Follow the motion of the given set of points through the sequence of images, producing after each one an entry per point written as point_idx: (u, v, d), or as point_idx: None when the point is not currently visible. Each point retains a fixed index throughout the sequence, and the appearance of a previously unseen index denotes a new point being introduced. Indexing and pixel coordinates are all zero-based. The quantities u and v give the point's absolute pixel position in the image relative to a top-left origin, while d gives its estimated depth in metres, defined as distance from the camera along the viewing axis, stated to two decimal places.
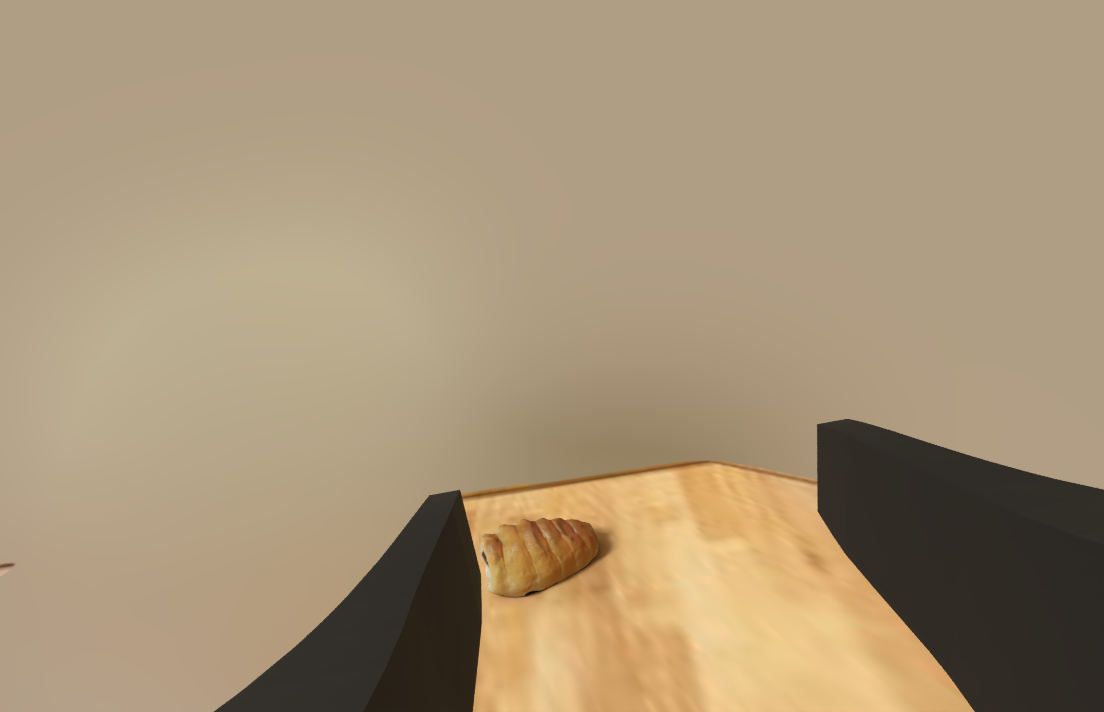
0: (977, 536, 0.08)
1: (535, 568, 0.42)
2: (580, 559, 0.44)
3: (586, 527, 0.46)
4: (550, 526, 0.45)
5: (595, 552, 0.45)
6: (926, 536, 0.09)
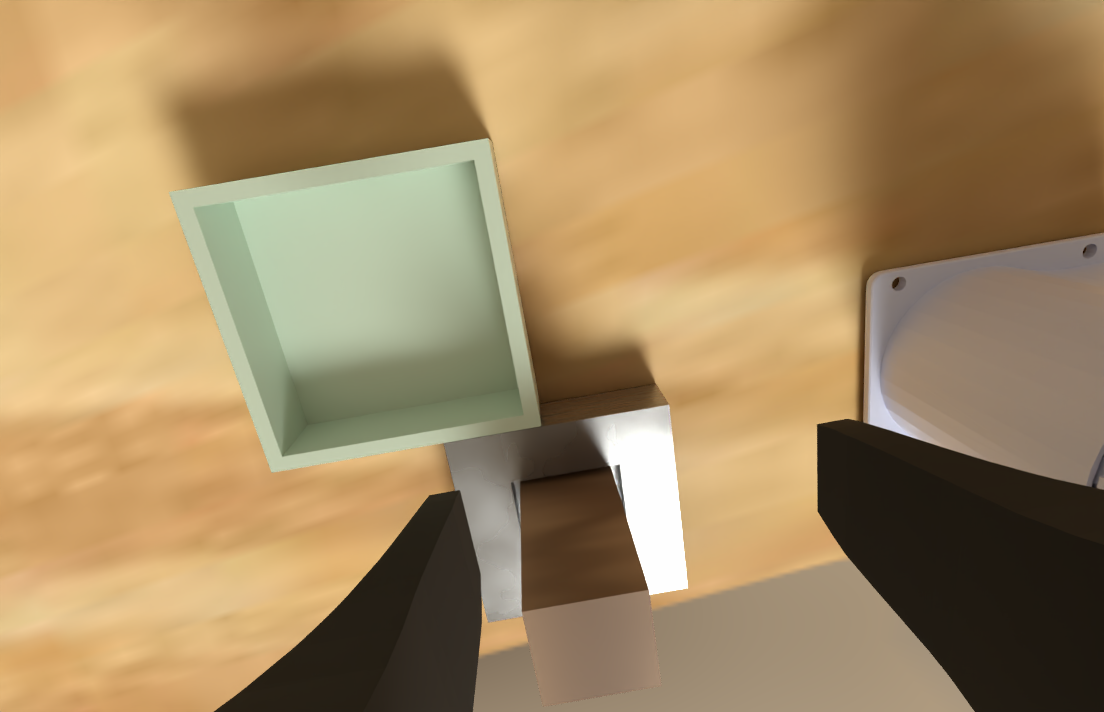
0: (977, 536, 0.08)
1: None
2: None
3: None
4: None
5: None
6: (926, 537, 0.09)
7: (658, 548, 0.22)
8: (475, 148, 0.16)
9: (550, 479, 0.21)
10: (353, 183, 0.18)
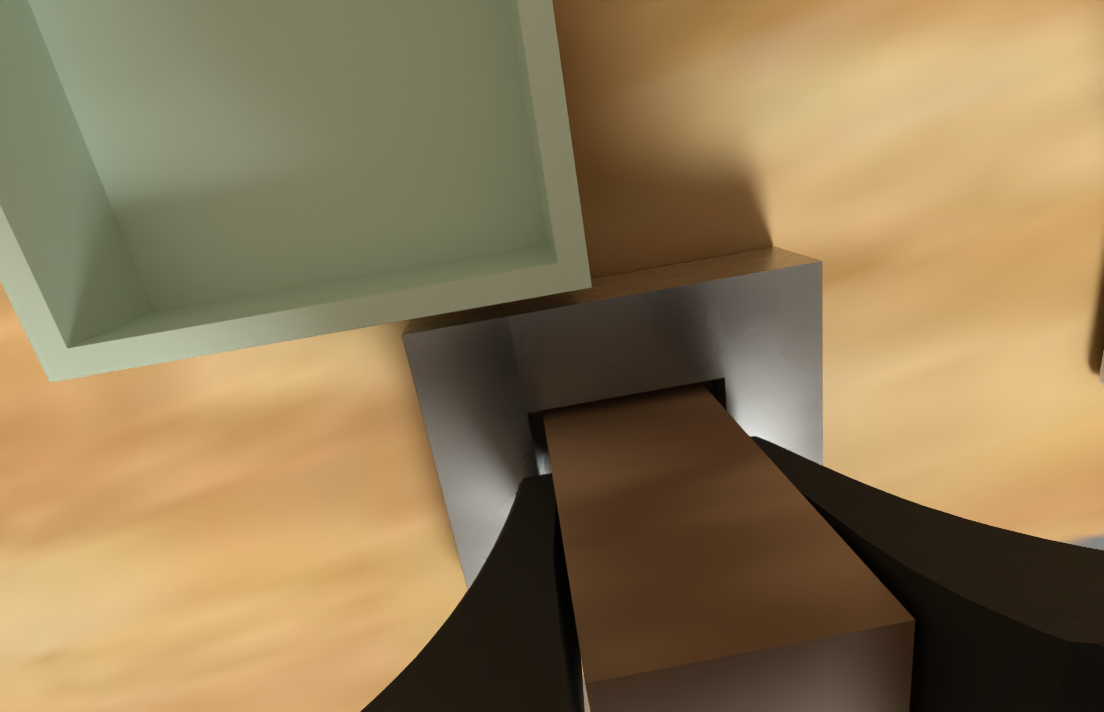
0: None
1: None
2: None
3: None
4: None
5: None
6: None
7: None
8: None
9: (596, 408, 0.12)
10: None
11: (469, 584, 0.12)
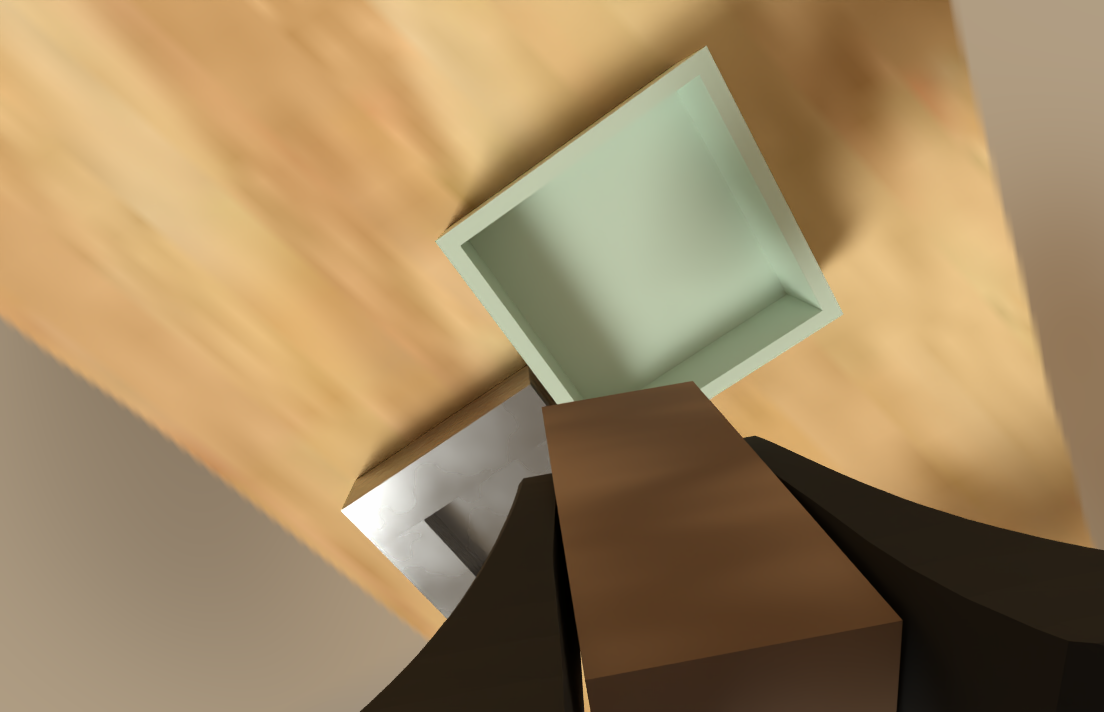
0: None
1: None
2: None
3: None
4: None
5: None
6: None
7: None
8: (832, 307, 0.18)
9: (596, 411, 0.12)
10: (731, 194, 0.19)
11: (393, 478, 0.20)
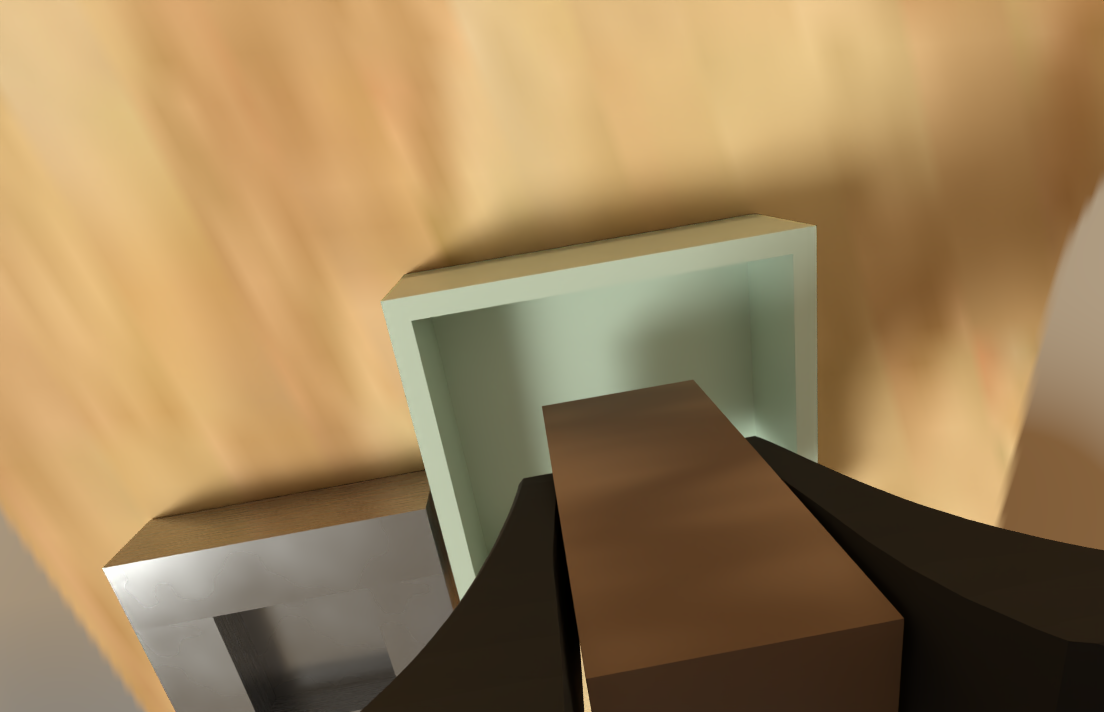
0: None
1: None
2: None
3: None
4: None
5: None
6: None
7: None
8: None
9: (596, 410, 0.12)
10: (751, 383, 0.15)
11: (194, 554, 0.14)
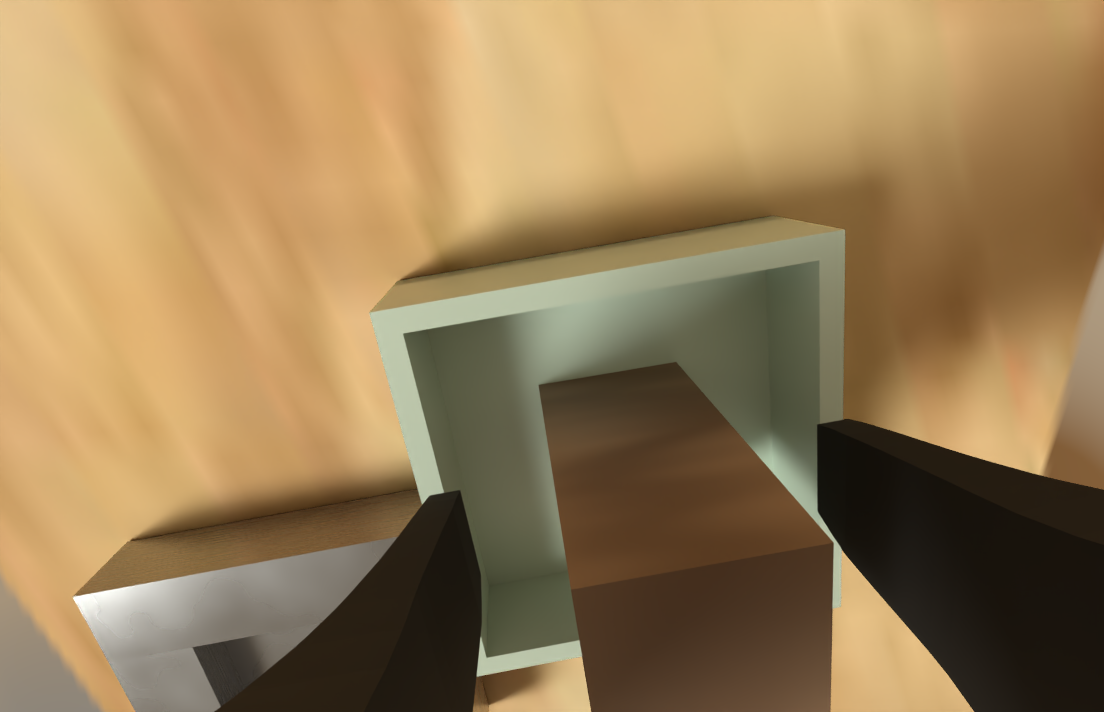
0: (977, 536, 0.08)
1: None
2: None
3: None
4: None
5: None
6: (926, 536, 0.09)
7: None
8: None
9: (587, 388, 0.13)
10: (767, 397, 0.14)
11: (171, 582, 0.13)
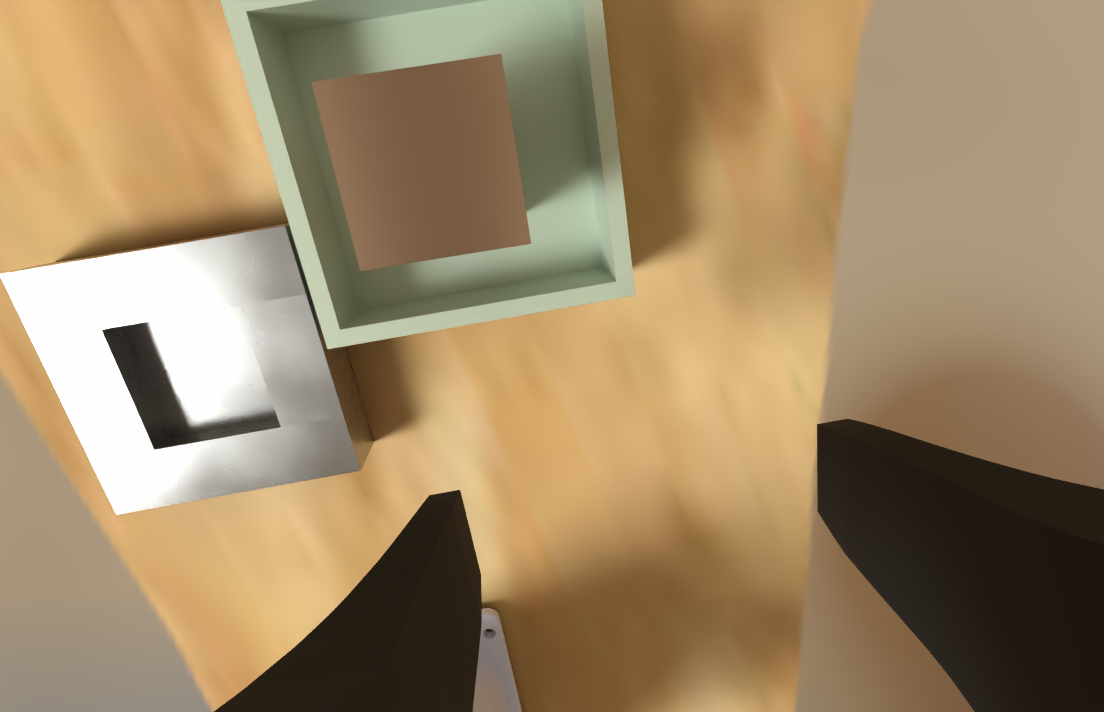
0: (977, 536, 0.08)
1: None
2: None
3: None
4: None
5: None
6: (926, 537, 0.09)
7: (168, 477, 0.18)
8: (626, 283, 0.16)
9: None
10: (583, 134, 0.17)
11: (80, 263, 0.16)
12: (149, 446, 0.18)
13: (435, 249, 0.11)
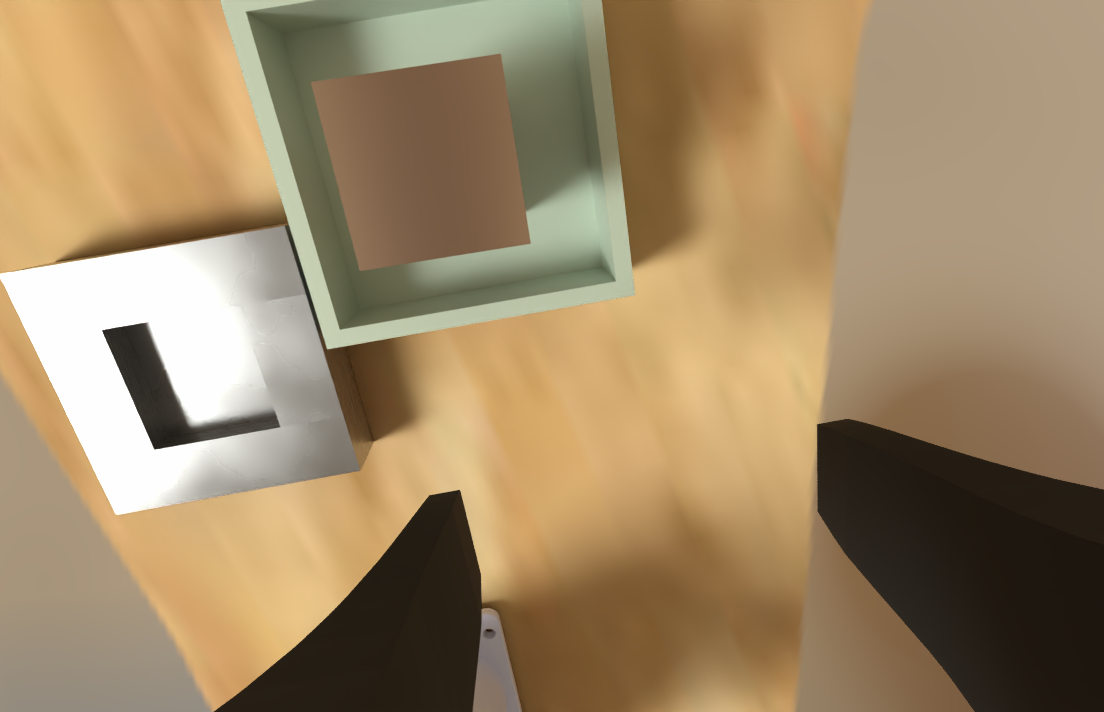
0: (977, 536, 0.08)
1: None
2: None
3: None
4: None
5: None
6: (926, 536, 0.09)
7: (169, 477, 0.18)
8: (626, 282, 0.16)
9: None
10: (583, 134, 0.17)
11: (80, 263, 0.16)
12: (149, 446, 0.18)
13: (435, 249, 0.11)
